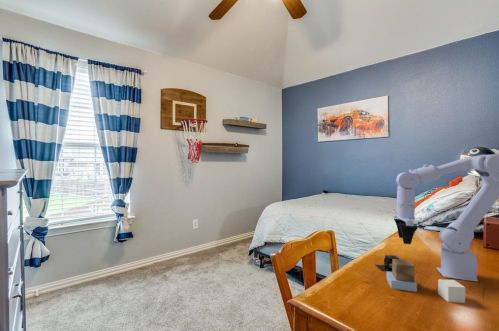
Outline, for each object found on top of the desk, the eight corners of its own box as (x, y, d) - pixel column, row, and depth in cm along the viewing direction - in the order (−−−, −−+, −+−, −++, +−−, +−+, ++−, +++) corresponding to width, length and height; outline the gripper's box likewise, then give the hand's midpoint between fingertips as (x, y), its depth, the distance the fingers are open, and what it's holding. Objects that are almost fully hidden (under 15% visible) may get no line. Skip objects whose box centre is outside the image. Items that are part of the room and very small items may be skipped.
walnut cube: (409, 275, 84) (409, 260, 84) (414, 282, 79) (414, 266, 79) (392, 273, 86) (392, 258, 86) (396, 280, 81) (396, 264, 81)
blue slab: (409, 282, 85) (409, 273, 85) (416, 293, 79) (416, 283, 79) (386, 279, 87) (386, 271, 87) (391, 289, 81) (391, 280, 81)
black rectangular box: (379, 274, 92) (379, 260, 92) (369, 265, 100) (369, 252, 100) (416, 274, 92) (416, 260, 92) (403, 265, 100) (403, 252, 100)
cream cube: (453, 294, 77) (454, 279, 77) (465, 303, 73) (465, 287, 73) (437, 294, 78) (438, 279, 77) (448, 302, 73) (448, 286, 73)
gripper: (390, 200, 103) (389, 234, 104) (397, 206, 90) (396, 245, 90) (410, 202, 101) (409, 236, 101) (420, 208, 87) (419, 247, 88)
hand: (404, 240), depth 96 cm, fingers open, 7 cm apart
